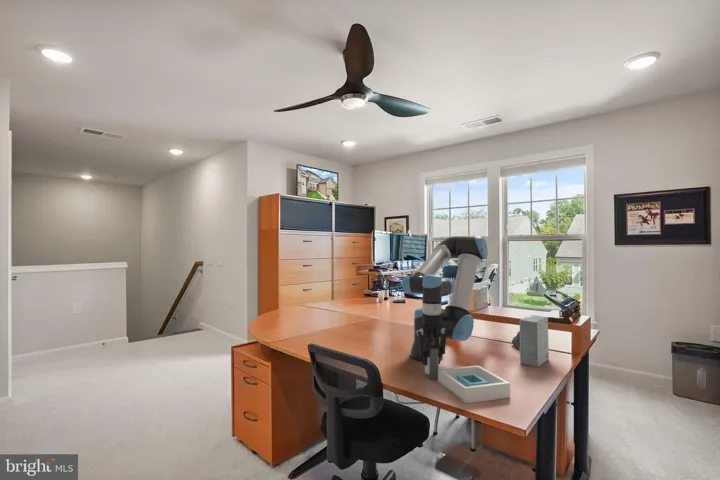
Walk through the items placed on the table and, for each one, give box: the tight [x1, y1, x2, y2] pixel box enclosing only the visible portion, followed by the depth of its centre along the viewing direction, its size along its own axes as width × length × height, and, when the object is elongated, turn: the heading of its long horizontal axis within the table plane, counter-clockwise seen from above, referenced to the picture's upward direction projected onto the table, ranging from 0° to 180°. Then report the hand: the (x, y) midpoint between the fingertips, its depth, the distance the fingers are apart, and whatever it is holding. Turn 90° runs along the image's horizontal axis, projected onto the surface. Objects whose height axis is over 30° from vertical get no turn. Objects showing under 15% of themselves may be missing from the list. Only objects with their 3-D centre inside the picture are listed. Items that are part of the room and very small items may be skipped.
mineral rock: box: [511, 330, 520, 350], centre depth 175 cm, size 13×11×10 cm
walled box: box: [437, 365, 511, 404], centre depth 123 cm, size 18×18×5 cm
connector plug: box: [425, 339, 438, 381], centre depth 134 cm, size 4×3×15 cm
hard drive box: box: [519, 314, 550, 368], centre depth 154 cm, size 16×8×20 cm, turn 134°
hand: (431, 372), depth 134 cm, fingers closed on connector plug, 3 cm apart
